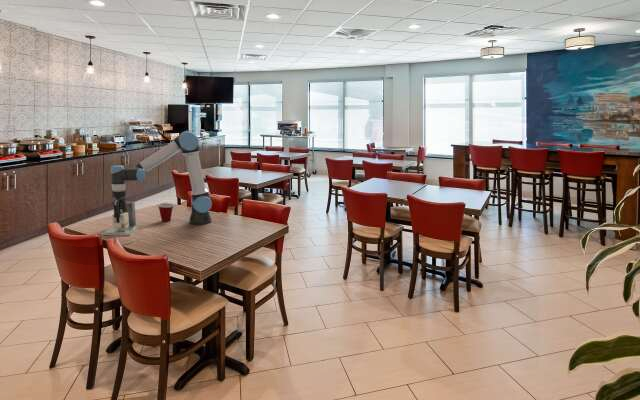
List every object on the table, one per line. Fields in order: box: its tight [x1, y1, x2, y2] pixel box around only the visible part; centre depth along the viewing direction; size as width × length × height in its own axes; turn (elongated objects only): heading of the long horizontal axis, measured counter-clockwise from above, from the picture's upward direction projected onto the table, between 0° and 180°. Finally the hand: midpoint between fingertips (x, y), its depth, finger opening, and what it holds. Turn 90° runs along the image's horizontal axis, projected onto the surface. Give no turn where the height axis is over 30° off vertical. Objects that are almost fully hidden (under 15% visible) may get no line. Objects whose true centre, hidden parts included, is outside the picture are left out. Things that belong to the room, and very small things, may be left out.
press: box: [102, 201, 140, 237], centre depth 263 cm, size 16×26×16 cm, turn 5°
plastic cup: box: [157, 202, 175, 223], centre depth 288 cm, size 11×11×12 cm
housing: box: [111, 210, 129, 229], centre depth 257 cm, size 7×7×12 cm
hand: (121, 225), depth 258 cm, fingers closed on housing, 7 cm apart
